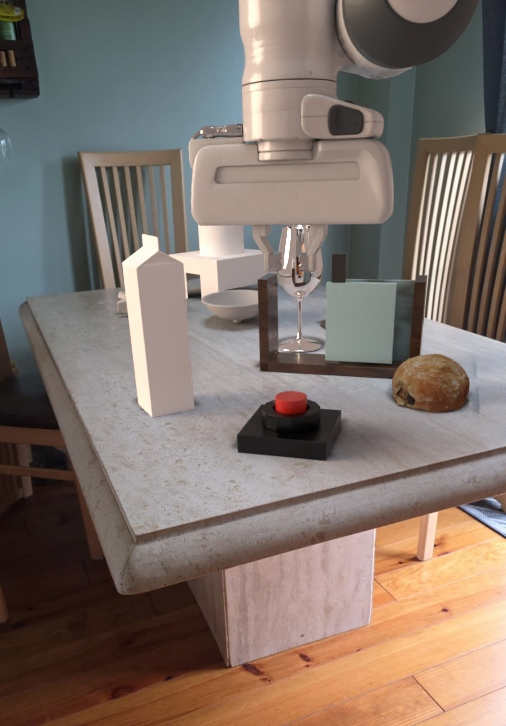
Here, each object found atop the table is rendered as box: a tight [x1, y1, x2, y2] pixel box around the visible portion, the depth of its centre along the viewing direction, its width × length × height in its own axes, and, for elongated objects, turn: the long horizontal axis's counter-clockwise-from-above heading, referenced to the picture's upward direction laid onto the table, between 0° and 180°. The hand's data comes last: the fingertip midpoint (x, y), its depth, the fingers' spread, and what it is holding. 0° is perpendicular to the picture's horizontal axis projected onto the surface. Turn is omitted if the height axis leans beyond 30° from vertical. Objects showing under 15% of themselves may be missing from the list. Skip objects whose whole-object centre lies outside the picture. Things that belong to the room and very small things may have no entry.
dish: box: [200, 289, 258, 323], centre depth 128 cm, size 18×14×5 cm
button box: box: [236, 398, 342, 462], centre depth 72 cm, size 10×10×4 cm
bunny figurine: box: [116, 290, 128, 314], centre depth 139 cm, size 10×5×15 cm
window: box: [324, 252, 397, 364], centre depth 91 cm, size 10×1×16 cm, turn 73°
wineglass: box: [276, 225, 324, 353], centre depth 105 cm, size 8×8×20 cm
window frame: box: [257, 273, 428, 380], centre depth 94 cm, size 24×6×14 cm, turn 73°
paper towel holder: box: [168, 224, 276, 300], centre depth 151 cm, size 19×19×30 cm
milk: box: [121, 233, 195, 419], centre depth 79 cm, size 6×6×22 cm
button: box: [274, 390, 308, 414], centre depth 71 cm, size 4×4×2 cm
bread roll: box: [391, 353, 471, 413], centre depth 82 cm, size 10×10×8 cm
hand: (290, 271), depth 65 cm, fingers closed
